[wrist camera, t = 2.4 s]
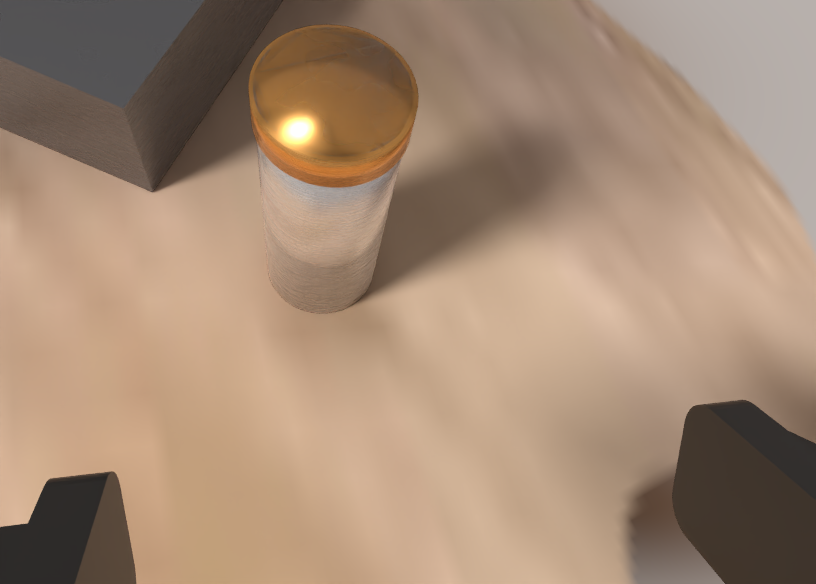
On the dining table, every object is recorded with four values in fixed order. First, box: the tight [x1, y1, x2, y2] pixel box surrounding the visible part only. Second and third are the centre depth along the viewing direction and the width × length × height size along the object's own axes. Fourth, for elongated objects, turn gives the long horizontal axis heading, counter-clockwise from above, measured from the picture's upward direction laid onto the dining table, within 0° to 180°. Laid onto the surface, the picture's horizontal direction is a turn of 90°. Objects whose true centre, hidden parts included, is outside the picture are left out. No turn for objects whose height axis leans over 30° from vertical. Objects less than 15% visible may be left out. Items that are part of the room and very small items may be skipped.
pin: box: [249, 24, 418, 313], centre depth 22 cm, size 4×4×10 cm
